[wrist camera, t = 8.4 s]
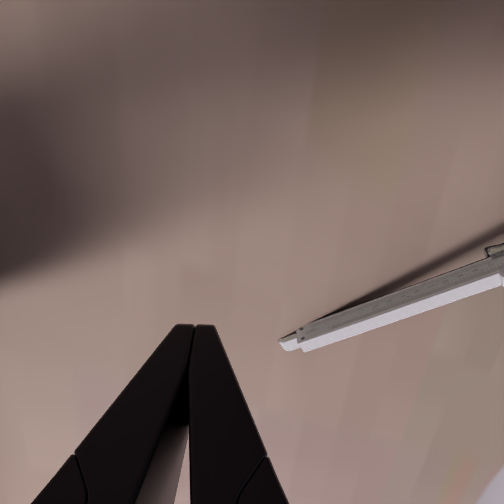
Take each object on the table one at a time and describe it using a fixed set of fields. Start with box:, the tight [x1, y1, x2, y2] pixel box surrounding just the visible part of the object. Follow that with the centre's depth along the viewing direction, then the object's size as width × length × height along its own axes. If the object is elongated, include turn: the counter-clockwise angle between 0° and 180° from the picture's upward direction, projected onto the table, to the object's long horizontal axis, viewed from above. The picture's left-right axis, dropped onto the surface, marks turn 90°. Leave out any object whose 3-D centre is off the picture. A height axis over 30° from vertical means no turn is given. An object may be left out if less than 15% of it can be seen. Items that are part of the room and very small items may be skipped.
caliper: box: [278, 243, 504, 352], centre depth 23 cm, size 20×1×6 cm, turn 120°
